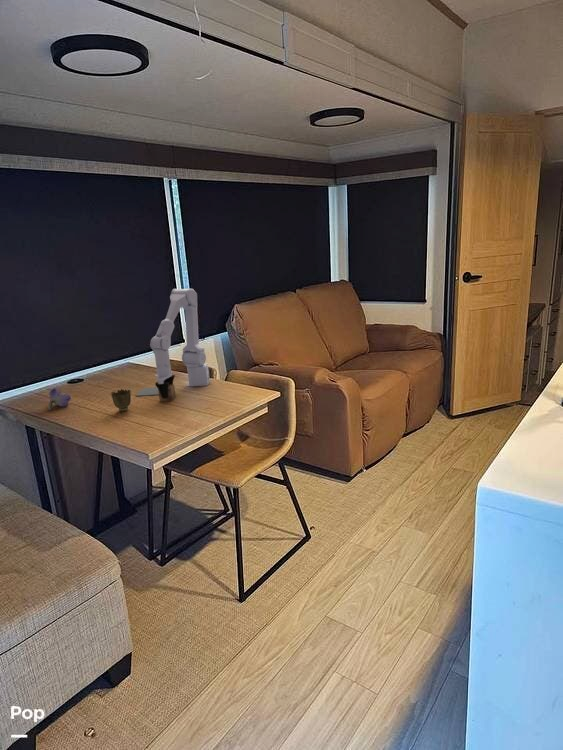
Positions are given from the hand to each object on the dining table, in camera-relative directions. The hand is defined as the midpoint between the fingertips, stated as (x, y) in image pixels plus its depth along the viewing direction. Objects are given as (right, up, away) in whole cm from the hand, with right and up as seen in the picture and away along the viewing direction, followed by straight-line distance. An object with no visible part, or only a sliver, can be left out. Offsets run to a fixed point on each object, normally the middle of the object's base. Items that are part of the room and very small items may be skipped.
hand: (167, 395), depth 204 cm
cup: (-15, -6, -11) cm, 19 cm away
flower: (-45, -5, -1) cm, 46 cm away
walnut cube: (0, -2, 0) cm, 2 cm away
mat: (-10, +1, +11) cm, 15 cm away
